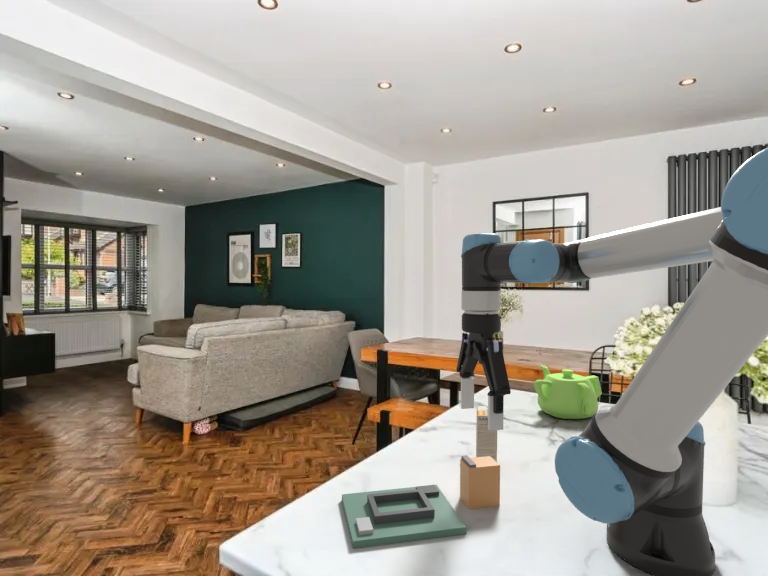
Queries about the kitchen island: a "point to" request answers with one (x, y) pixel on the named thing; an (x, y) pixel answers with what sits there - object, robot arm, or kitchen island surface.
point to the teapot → (568, 394)
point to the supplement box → (485, 435)
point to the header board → (400, 516)
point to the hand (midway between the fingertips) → (480, 418)
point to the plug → (479, 481)
